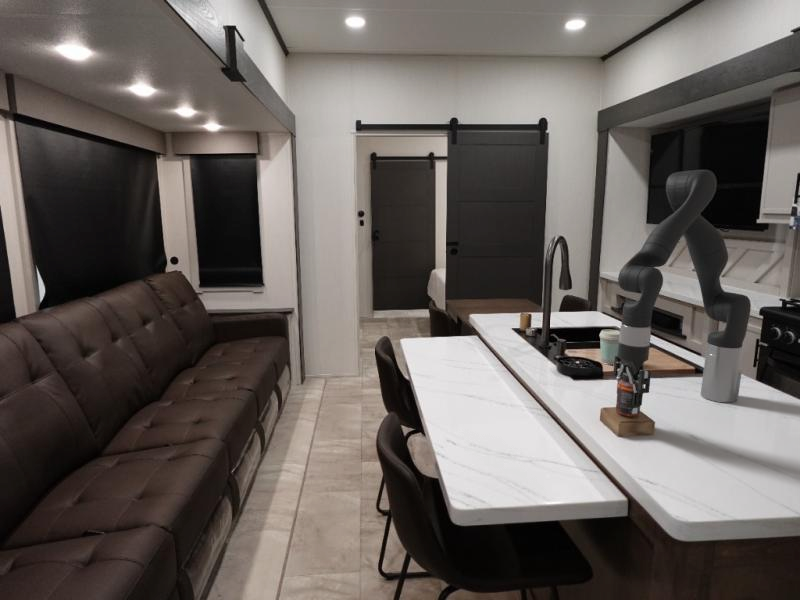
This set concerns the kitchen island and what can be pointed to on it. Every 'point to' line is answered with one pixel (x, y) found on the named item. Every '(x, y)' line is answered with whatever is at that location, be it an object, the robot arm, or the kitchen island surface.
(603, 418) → the plinth
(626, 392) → the supplement bottle
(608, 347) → the coffee cup
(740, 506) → the kitchen island surface
